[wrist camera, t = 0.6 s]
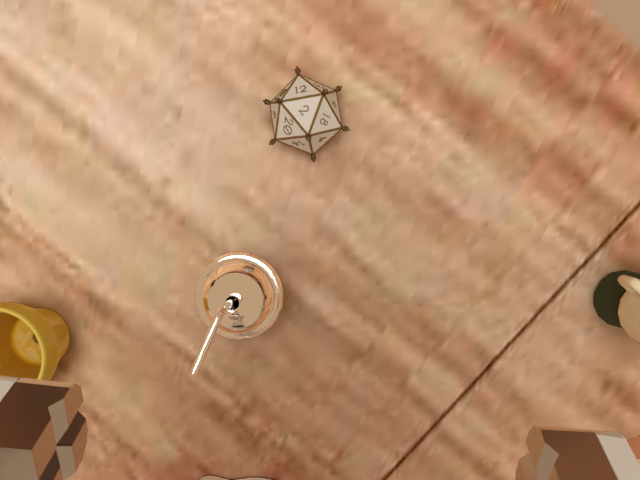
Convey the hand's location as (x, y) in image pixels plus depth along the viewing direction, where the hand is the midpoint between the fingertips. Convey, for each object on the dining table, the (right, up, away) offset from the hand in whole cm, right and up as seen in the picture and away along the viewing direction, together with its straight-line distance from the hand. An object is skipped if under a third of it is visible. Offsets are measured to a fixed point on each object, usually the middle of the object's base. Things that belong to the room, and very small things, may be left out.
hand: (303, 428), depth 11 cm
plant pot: (-32, -8, +58) cm, 66 cm away
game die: (-1, +17, +55) cm, 57 cm away
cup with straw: (-7, -1, +56) cm, 57 cm away
